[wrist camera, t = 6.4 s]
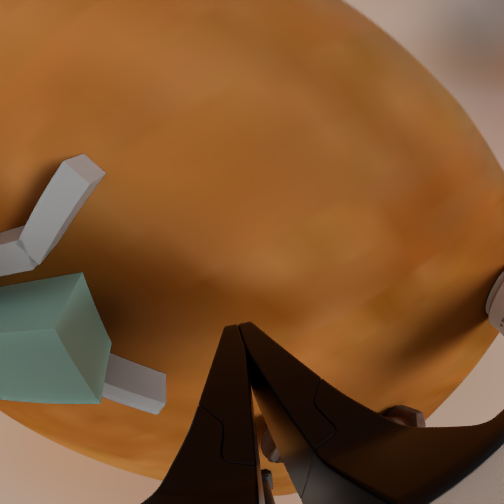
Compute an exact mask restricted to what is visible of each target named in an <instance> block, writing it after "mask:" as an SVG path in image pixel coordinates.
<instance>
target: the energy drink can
mask: <svg viewBox="0 0 504 504" xmlns="http://www.w3.org/2000/svg"><path fill="white" fill-rule="evenodd" d="M486 313H487V314H488V315H489V318H488V319H489V323H490V324H491V325H492V326H494V327H495V328H496V329H497V330H498V331H499V332H500V333H501V334H502V335H503V336H504V271H503V272H502V273H501V275H500V276H499V277H498V279H497V280H496V282H495V284H494V285H493V287H492V289H491V291H490V294H489V296H488V299H487V302H486Z"/></svg>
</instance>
